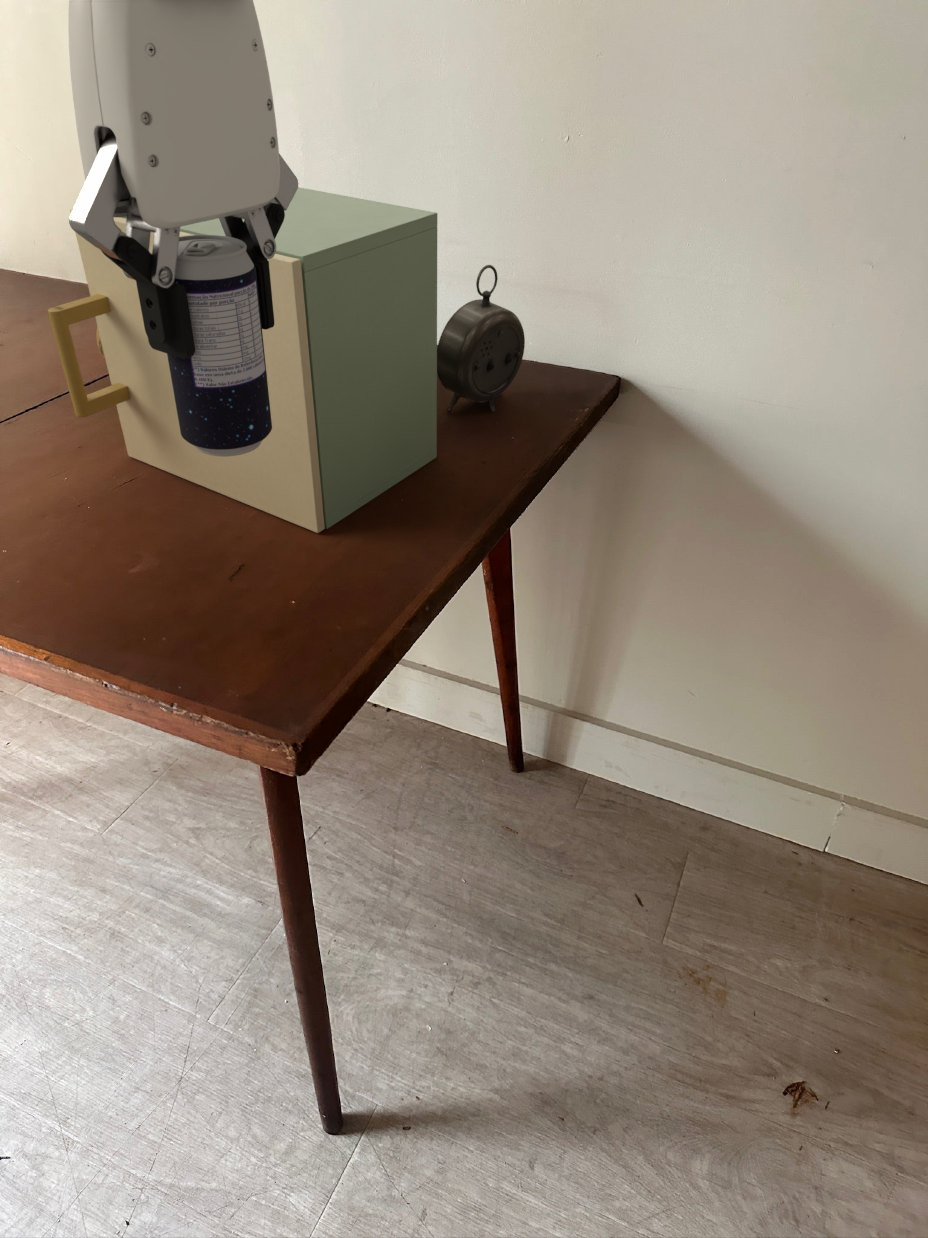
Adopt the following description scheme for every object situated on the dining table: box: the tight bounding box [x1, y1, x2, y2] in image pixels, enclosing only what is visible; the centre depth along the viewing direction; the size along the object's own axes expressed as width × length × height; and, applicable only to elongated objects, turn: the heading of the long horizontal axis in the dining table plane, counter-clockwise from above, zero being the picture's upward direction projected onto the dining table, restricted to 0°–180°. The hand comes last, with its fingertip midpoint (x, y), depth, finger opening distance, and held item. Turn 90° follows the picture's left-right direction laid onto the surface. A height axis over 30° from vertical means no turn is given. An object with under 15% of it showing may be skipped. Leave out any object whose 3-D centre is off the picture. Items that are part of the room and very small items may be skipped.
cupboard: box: [120, 186, 438, 530], centre depth 85 cm, size 18×26×24 cm
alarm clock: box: [437, 264, 526, 414], centre depth 99 cm, size 11×5×16 cm, turn 134°
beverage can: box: [167, 235, 272, 457], centre depth 52 cm, size 6×6×12 cm
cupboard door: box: [47, 208, 326, 534], centre depth 77 cm, size 7×26×24 cm, turn 56°
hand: (213, 334), depth 52 cm, fingers closed on beverage can, 5 cm apart
